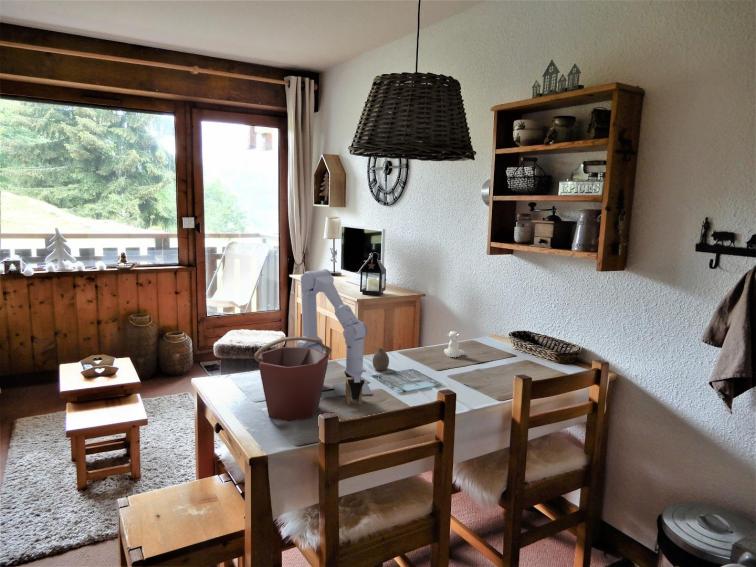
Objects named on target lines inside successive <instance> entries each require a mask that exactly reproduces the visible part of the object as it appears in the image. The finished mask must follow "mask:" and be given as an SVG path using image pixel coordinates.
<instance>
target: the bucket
mask: <svg viewBox="0 0 756 567" xmlns="http://www.w3.org/2000/svg"><path fill="white" fill-rule="evenodd" d="M299 340H302V341H310V342H315V343H319V345H320V346H321V347H322V348H324V351H323V352H320V351H318V350H315V349H313V348H304V347H297V346H292V347H291V346H290V347H289V346H281V347H277V348H274V349H271V350H270V348H271V347H274V346H276V345H278V344H281V343H284V342H290V341H299ZM268 349H269V350H268ZM266 350H267V351H266ZM331 353H332V348H330V346H328V345H326V344H324V343H322V342H321V341H320V339H315V338H308V337H303V336H286V337H281V338H278V339H276V340H273V341H270V342H269V343H266V344H264V345H262V346H261V347H259V349H258V350H257V351H256V352H255V353H254V355H253V356H254V360H255V361H256V362H257V363H258V364H259V365H258V366H259V374H260V380H261V384H262V389H263V393H264V399H265V403H266V409H267V414H268V418H271V419H276V420H278V421H279V420H280V421H283V422H289V423H291V422H296V421H301V420H306V419H312V418H313V416H314V415H315V414H316V412H317V411H318V410H319V407H320V402H321V397H322V393H323V389H324V384H325V383H324V382H325V378H326V375H327V371H328V370H327V369H328V365H329V356H330V354H331Z"/></svg>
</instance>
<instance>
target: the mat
mask: <svg viewBox="0 0 756 567" xmlns="http://www.w3.org/2000/svg"><path fill="white" fill-rule="evenodd" d="M332 387H333V390H334V395H335V397H336V398H341V397H342V398H343V397H345V398H346V383H334V384H332ZM366 395H370V396H373V393H372V391H371V388H370V386H369V384H368V382H364V385H363V386H362V397H364V396H365V397H367V396H366ZM350 397H352V396H351V395H350Z"/></svg>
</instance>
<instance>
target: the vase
mask: <svg viewBox="0 0 756 567" xmlns="http://www.w3.org/2000/svg"><path fill="white" fill-rule="evenodd" d="M389 365H390V358H389V355H388V354H387V352H386V351H385V349H384V348H378V349H377V351H376V352H375V353H374V355H373V357H372V366H373V368H374V369H375V370H376V371H377V370H378V372H385V371H386V370H387V369H388V368H389Z"/></svg>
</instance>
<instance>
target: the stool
mask: <svg viewBox="0 0 756 567" xmlns="http://www.w3.org/2000/svg"><path fill="white" fill-rule="evenodd" d="M348 379H353V377H348V378H347V377H345V384H346V397H345V401H346V404H347V406H350V405H351V396H350V395H351V389H350V385H349V383H348V381H347V380H348ZM360 380H362V377H360ZM357 401H358V405H362V404H363V396H362V388H361V391H360V396H359V399H358V400H357Z"/></svg>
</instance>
